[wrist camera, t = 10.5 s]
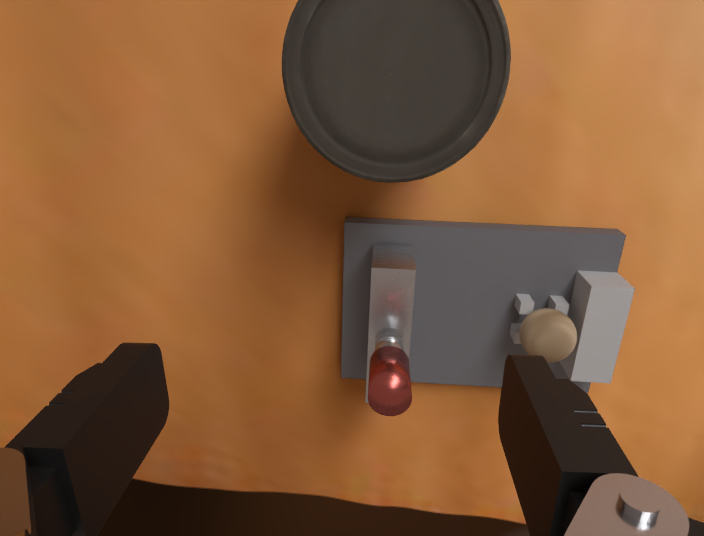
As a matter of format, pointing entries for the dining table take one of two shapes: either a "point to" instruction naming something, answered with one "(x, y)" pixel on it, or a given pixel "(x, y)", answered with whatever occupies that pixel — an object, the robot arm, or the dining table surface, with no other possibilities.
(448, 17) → the coffee can
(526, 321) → the tan ball
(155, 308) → the dining table surface
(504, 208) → the dining table surface
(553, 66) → the dining table surface
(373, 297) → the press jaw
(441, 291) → the nutcracker bench
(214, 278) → the dining table surface
